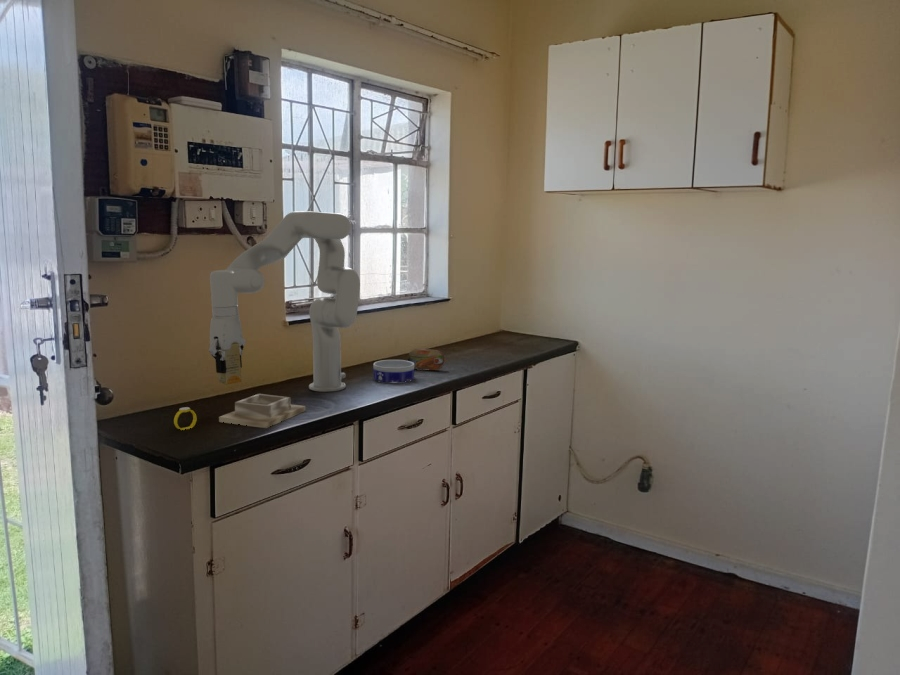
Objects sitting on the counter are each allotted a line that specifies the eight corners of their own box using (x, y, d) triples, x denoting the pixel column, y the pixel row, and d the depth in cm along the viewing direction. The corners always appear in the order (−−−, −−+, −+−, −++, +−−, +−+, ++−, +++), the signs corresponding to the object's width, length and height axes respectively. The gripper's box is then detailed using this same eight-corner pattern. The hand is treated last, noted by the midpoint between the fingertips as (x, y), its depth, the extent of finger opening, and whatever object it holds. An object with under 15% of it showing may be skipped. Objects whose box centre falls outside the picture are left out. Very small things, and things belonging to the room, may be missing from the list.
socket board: (260, 405, 214) (260, 389, 213) (305, 410, 208) (305, 394, 207) (219, 422, 195) (218, 405, 194) (266, 428, 190) (266, 410, 189)
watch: (178, 433, 185) (176, 412, 184) (173, 431, 187) (171, 410, 185) (199, 427, 189) (196, 406, 188) (194, 425, 191) (191, 404, 190)
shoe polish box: (234, 379, 211) (231, 340, 209) (241, 381, 207) (239, 343, 205) (218, 381, 208) (216, 343, 205) (226, 384, 204) (223, 345, 202)
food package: (406, 369, 272) (407, 348, 270) (409, 368, 275) (409, 347, 273) (443, 372, 268) (443, 350, 267) (445, 370, 271) (445, 349, 270)
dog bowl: (422, 378, 257) (422, 362, 256) (397, 385, 244) (397, 369, 243) (391, 373, 265) (391, 358, 264) (364, 380, 253) (364, 364, 252)
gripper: (233, 307, 213) (237, 363, 216) (195, 315, 197) (199, 375, 200) (253, 308, 210) (257, 365, 214) (216, 316, 194) (221, 377, 197)
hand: (229, 369), depth 207 cm, fingers closed on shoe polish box, 6 cm apart
